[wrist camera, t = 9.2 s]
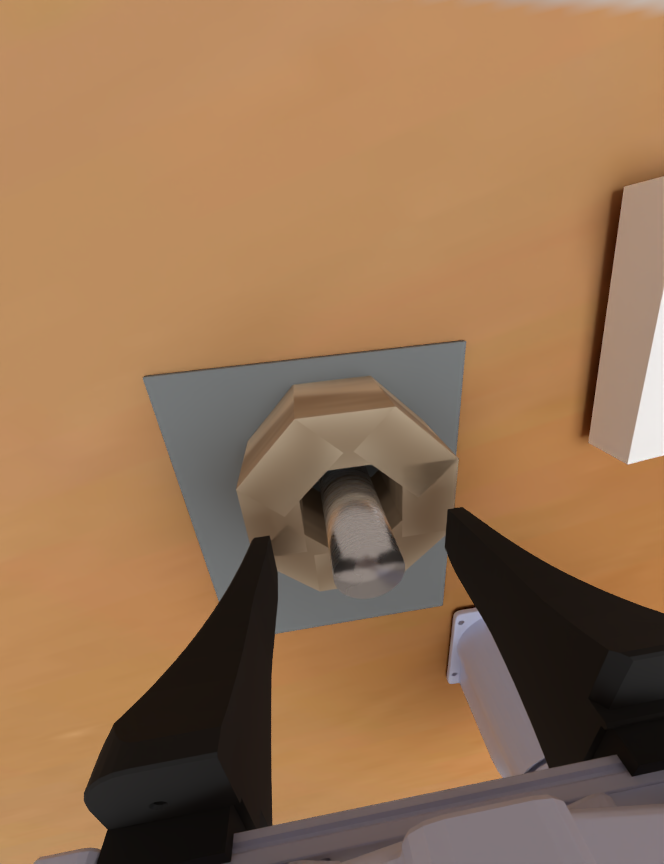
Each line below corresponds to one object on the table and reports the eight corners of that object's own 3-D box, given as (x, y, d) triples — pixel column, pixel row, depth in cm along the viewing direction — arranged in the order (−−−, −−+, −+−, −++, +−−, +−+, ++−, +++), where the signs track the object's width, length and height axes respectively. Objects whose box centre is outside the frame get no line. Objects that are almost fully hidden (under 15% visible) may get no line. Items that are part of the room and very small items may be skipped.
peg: (362, 476, 20) (404, 592, 13) (318, 482, 20) (336, 603, 12) (360, 437, 19) (405, 540, 11) (313, 443, 18) (330, 551, 11)
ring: (418, 515, 21) (448, 570, 17) (268, 537, 21) (264, 600, 17) (423, 369, 17) (464, 397, 13) (236, 390, 17) (220, 428, 13)
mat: (441, 601, 26) (442, 605, 26) (233, 637, 25) (232, 640, 24) (463, 340, 17) (466, 341, 17) (144, 375, 16) (142, 377, 16)
